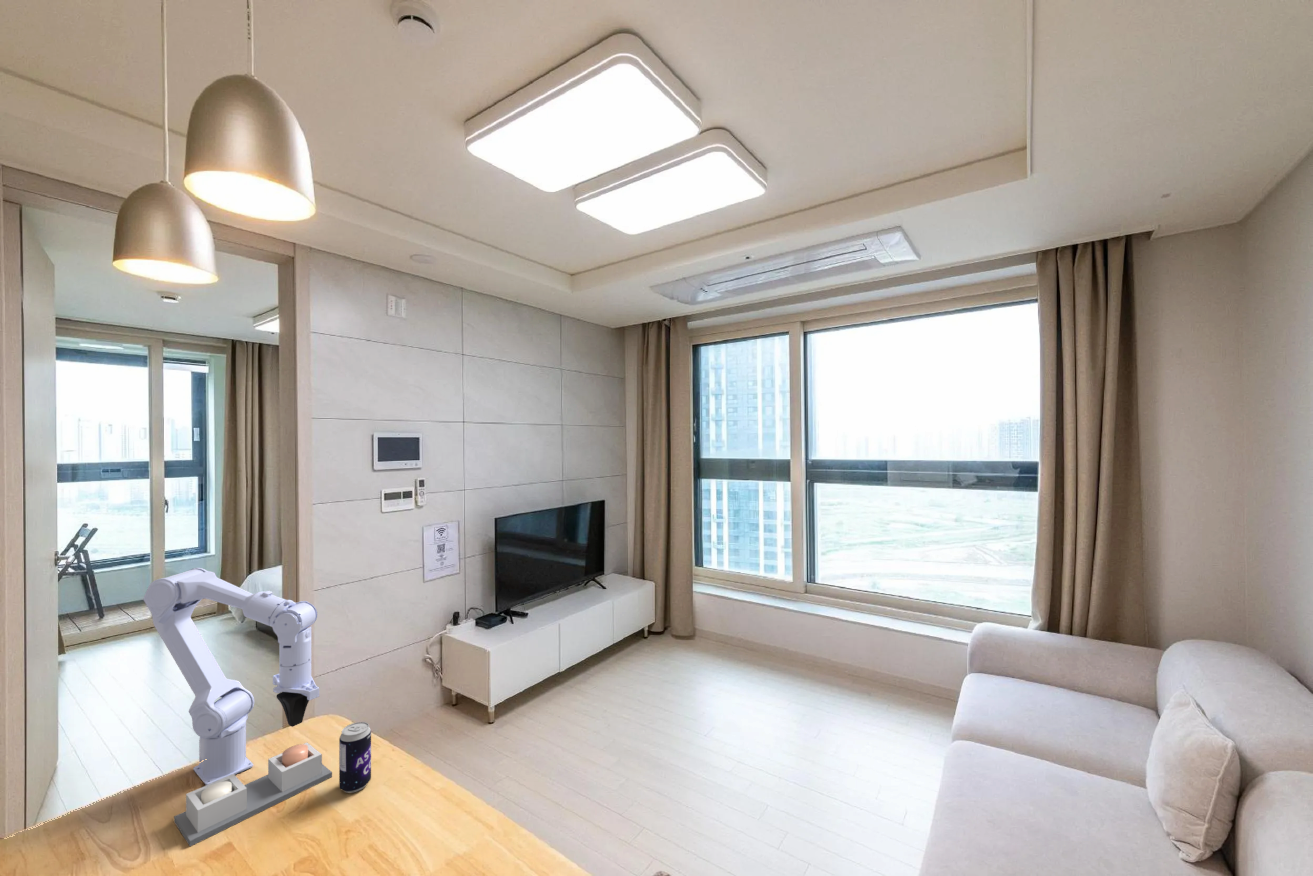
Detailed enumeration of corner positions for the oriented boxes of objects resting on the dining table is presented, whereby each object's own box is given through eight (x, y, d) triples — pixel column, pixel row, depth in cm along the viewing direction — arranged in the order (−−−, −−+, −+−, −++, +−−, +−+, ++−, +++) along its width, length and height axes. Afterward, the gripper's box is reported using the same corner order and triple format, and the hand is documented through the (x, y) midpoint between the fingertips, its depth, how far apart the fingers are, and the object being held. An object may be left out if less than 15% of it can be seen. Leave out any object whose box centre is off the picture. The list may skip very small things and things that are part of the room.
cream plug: (198, 813, 98) (198, 791, 98) (227, 799, 102) (227, 778, 102) (205, 823, 95) (205, 800, 95) (235, 809, 99) (235, 787, 99)
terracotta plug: (278, 772, 109) (278, 752, 109) (302, 761, 112) (302, 742, 112) (287, 780, 106) (287, 759, 106) (311, 769, 110) (311, 749, 110)
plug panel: (174, 821, 97) (174, 795, 97) (311, 759, 116) (311, 737, 116) (189, 846, 92) (189, 818, 92) (331, 776, 110) (332, 753, 110)
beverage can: (356, 797, 104) (356, 738, 104) (332, 793, 105) (332, 734, 105) (377, 779, 110) (377, 722, 110) (354, 775, 111) (354, 719, 111)
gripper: (257, 661, 112) (257, 723, 113) (293, 676, 105) (293, 743, 106) (292, 649, 119) (292, 708, 119) (329, 663, 112) (329, 726, 112)
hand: (295, 723), depth 113 cm, fingers closed
